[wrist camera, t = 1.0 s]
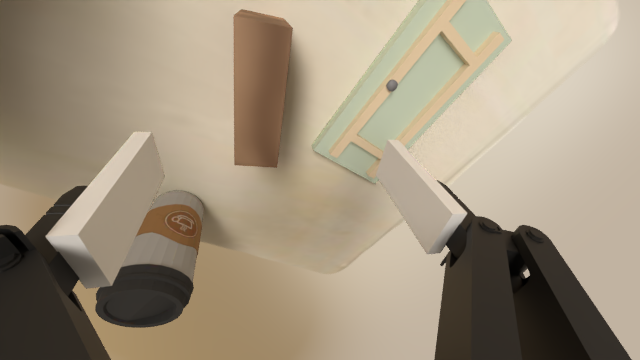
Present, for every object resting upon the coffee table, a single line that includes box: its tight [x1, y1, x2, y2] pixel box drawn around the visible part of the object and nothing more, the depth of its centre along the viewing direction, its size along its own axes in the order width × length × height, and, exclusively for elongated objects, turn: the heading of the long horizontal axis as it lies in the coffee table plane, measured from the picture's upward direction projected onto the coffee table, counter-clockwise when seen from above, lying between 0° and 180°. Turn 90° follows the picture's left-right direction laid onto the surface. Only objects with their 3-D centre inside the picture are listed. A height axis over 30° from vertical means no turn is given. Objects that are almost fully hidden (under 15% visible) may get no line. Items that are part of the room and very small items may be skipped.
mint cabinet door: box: [312, 0, 512, 184], centre depth 31 cm, size 12×24×3 cm, turn 144°
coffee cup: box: [96, 191, 204, 327], centre depth 30 cm, size 8×8×15 cm
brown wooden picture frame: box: [234, 9, 293, 167], centre depth 24 cm, size 4×12×9 cm, turn 169°
